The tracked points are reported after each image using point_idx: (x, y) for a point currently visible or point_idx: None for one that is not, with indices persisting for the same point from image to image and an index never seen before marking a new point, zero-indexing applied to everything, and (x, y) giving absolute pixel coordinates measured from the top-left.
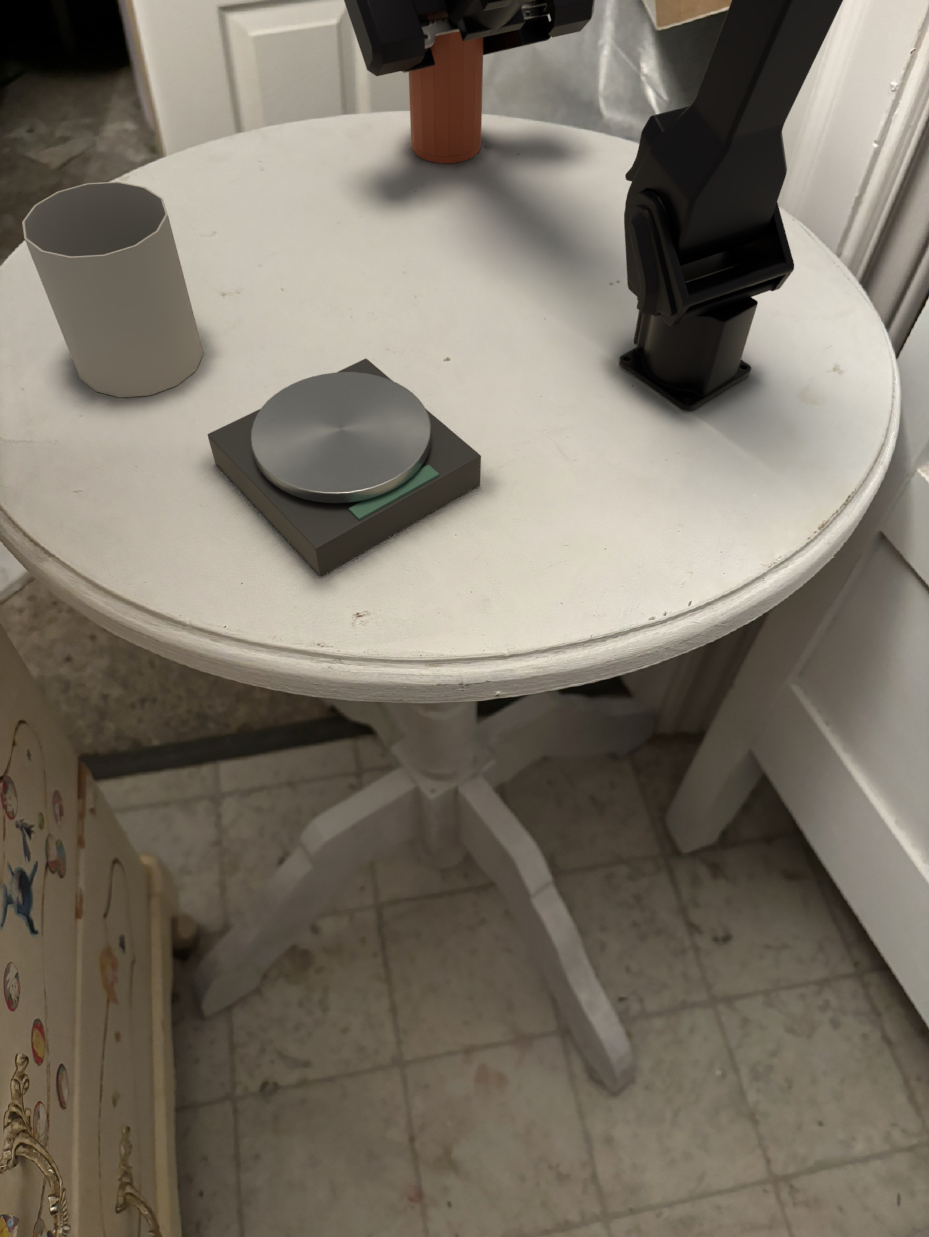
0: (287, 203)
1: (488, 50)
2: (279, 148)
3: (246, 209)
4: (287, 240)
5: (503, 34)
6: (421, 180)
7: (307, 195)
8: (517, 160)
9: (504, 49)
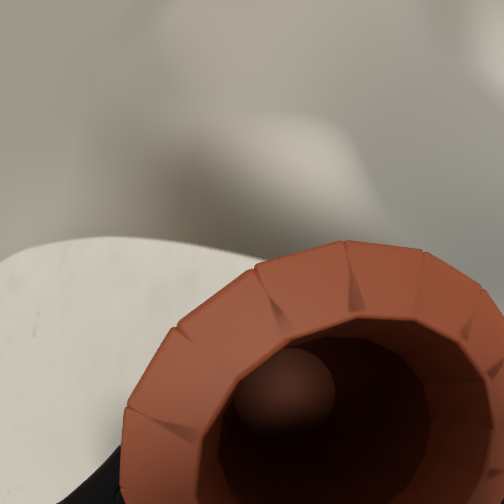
0: (36, 420)
1: None
2: (64, 291)
3: (5, 403)
4: (28, 479)
5: None
6: None
7: (56, 419)
8: None
9: None
